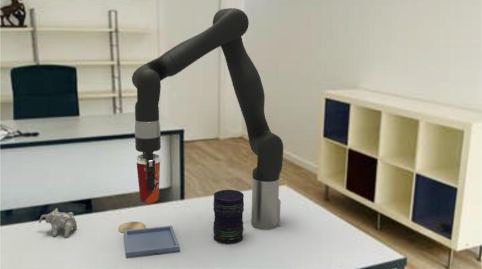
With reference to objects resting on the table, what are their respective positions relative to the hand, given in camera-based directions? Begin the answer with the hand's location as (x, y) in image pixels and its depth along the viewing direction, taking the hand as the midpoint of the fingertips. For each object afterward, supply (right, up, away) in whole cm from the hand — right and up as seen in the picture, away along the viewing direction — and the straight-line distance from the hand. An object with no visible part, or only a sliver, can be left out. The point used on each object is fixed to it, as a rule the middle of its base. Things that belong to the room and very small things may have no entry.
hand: (149, 186), depth 148 cm
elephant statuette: (-32, -17, +11) cm, 38 cm away
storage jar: (+24, -18, +9) cm, 32 cm away
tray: (0, -19, +4) cm, 19 cm away
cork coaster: (-9, -16, +15) cm, 24 cm away
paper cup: (0, -4, +1) cm, 4 cm away
